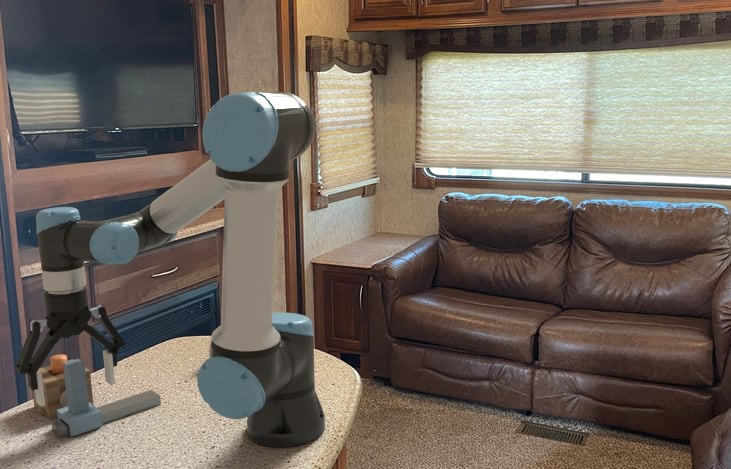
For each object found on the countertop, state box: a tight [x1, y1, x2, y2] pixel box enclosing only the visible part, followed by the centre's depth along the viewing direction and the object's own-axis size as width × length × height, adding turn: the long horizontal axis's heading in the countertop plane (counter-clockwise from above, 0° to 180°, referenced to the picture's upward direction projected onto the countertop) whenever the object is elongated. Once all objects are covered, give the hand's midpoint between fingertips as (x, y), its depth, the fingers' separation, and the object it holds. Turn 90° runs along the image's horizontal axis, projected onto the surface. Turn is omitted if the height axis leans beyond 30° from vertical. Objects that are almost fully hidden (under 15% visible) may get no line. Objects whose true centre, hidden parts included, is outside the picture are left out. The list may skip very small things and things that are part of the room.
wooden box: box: [32, 359, 95, 421], centre depth 146 cm, size 10×9×8 cm
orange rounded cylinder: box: [49, 354, 68, 375], centre depth 145 cm, size 3×3×3 cm
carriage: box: [57, 358, 104, 437], centre depth 136 cm, size 7×6×13 cm
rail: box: [51, 389, 162, 440], centre depth 141 cm, size 4×21×2 cm, turn 134°
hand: (76, 393), depth 136 cm, fingers open, 13 cm apart
